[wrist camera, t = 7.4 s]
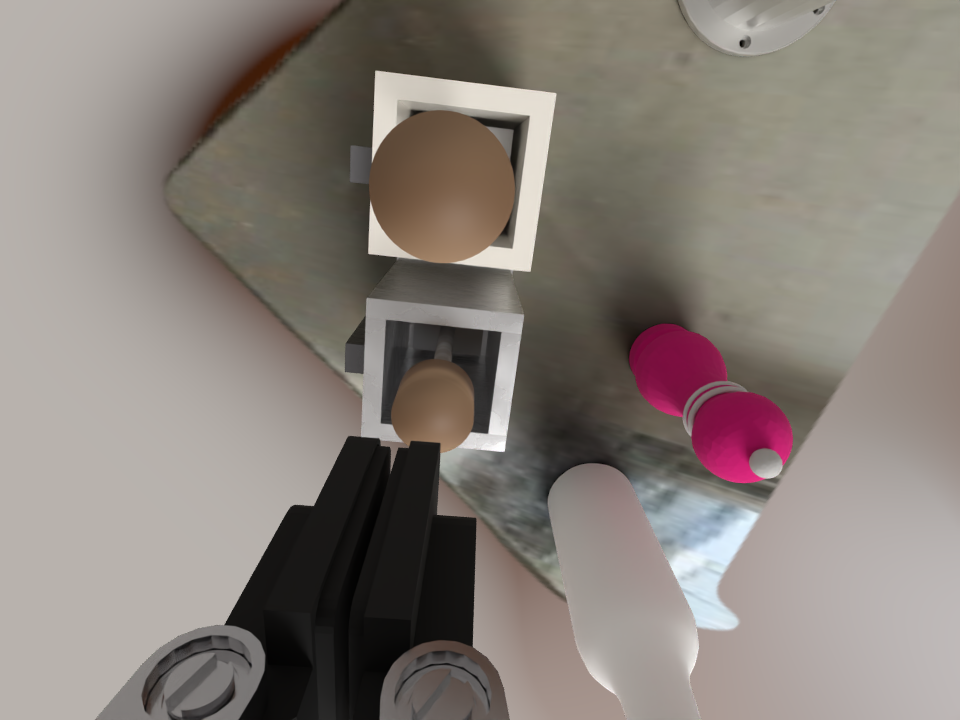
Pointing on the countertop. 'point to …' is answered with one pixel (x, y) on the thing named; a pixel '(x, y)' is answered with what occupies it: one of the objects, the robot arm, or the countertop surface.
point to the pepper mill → (711, 404)
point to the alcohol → (623, 595)
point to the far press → (389, 355)
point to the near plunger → (443, 185)
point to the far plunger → (437, 389)
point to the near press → (492, 109)
